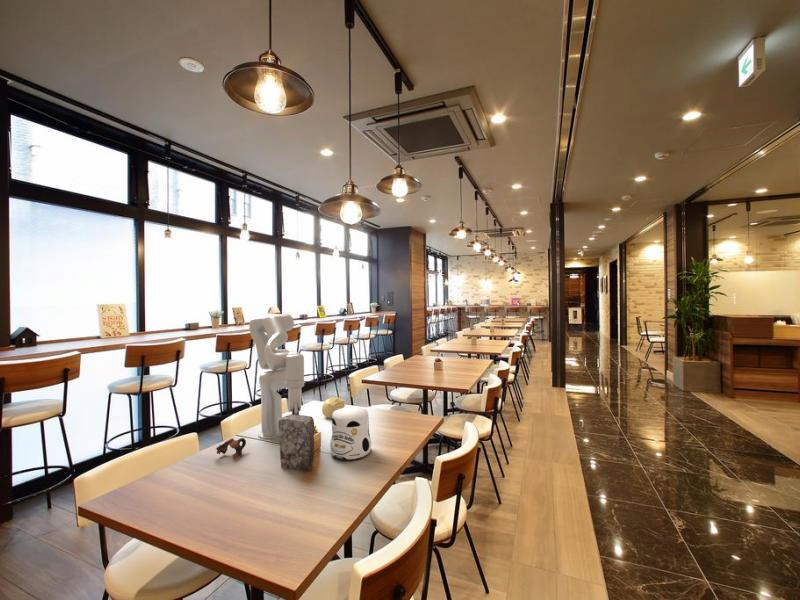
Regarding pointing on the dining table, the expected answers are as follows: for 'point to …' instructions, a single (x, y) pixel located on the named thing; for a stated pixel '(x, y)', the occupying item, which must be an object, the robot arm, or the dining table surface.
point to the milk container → (350, 433)
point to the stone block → (296, 442)
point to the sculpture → (332, 406)
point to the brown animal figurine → (233, 444)
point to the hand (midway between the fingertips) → (295, 425)
